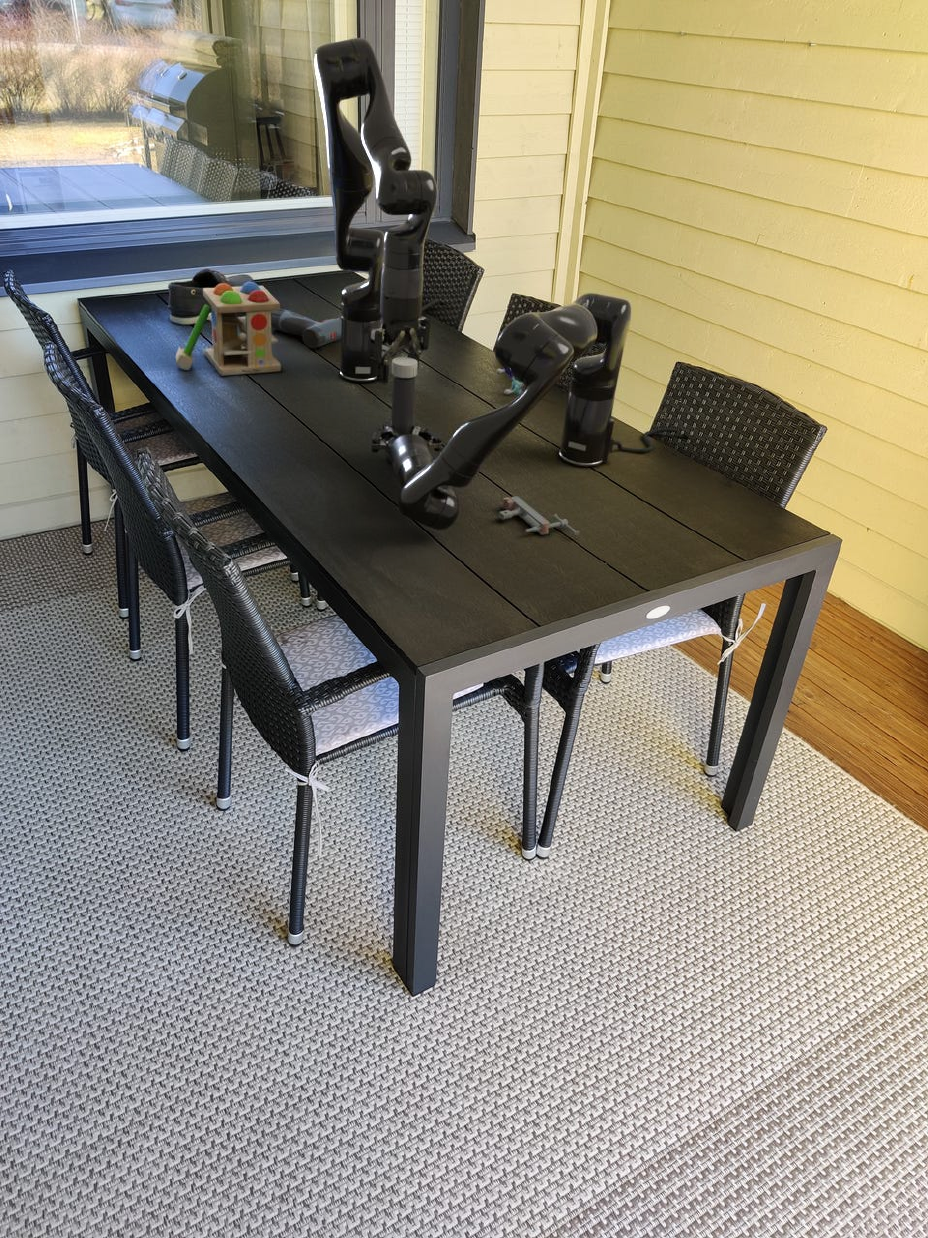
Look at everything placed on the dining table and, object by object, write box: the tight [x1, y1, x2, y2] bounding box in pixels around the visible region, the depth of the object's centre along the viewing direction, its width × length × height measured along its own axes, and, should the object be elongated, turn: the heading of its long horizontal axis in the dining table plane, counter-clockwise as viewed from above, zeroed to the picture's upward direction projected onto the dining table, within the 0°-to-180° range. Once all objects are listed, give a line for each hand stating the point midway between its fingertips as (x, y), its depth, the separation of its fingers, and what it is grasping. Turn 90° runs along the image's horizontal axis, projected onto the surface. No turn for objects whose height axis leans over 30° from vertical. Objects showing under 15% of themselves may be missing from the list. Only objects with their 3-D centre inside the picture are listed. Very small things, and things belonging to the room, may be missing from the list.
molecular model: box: [496, 368, 526, 396], centre depth 227 cm, size 12×10×10 cm
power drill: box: [271, 308, 341, 349], centre depth 252 cm, size 5×19×20 cm
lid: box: [391, 356, 419, 378], centre depth 185 cm, size 5×5×2 cm
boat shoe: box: [167, 268, 256, 325], centre depth 261 cm, size 13×33×10 cm, turn 147°
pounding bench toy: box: [174, 282, 282, 377], centre depth 225 cm, size 23×14×18 cm, turn 116°
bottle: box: [389, 374, 416, 464], centre depth 190 cm, size 4×4×20 cm
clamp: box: [498, 496, 580, 537], centre depth 177 cm, size 15×2×10 cm
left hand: (397, 377), depth 186 cm, fingers open, 7 cm apart
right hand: (399, 424), depth 194 cm, fingers closed on bottle, 4 cm apart
